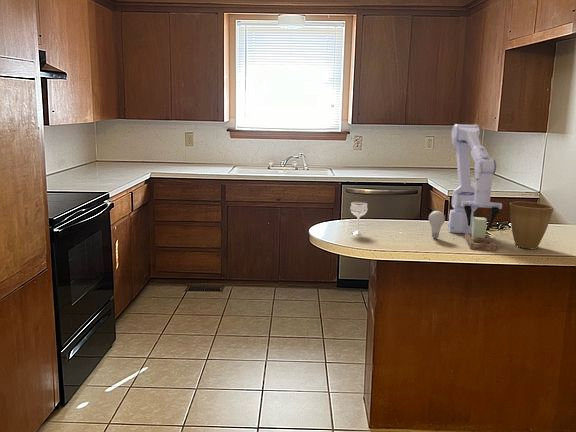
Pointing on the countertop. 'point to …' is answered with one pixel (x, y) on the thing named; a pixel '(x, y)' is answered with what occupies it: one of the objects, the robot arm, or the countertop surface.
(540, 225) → the plant pot
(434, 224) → the lightbulb
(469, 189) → the robot arm
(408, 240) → the countertop surface
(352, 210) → the wineglass
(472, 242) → the pocket rack
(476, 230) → the green block
